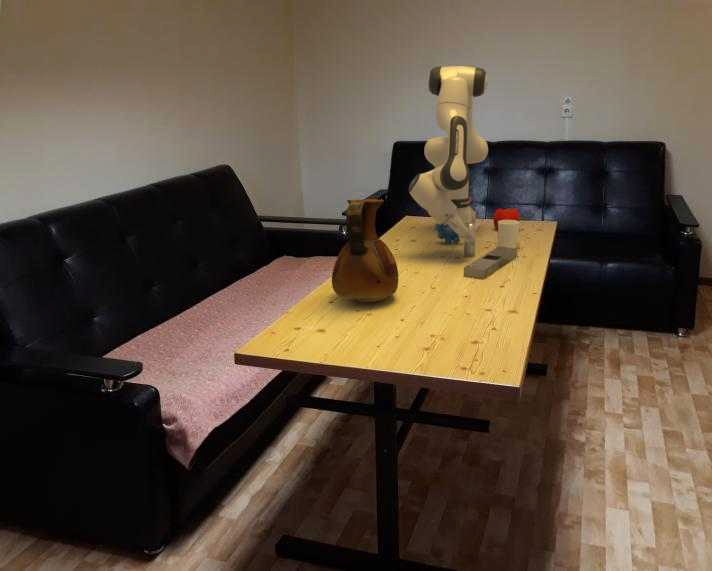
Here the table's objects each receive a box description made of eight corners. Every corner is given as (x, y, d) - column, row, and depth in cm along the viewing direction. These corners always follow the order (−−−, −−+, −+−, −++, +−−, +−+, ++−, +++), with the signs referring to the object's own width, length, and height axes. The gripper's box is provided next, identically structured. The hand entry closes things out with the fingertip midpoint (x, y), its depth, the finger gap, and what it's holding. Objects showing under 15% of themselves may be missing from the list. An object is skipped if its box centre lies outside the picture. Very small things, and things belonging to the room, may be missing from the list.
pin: (466, 254, 252) (467, 222, 249) (476, 255, 250) (477, 223, 247) (461, 256, 249) (462, 224, 245) (472, 257, 247) (473, 225, 243)
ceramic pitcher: (404, 290, 212) (404, 193, 203) (390, 311, 193) (389, 206, 184) (343, 286, 217) (341, 192, 208) (324, 306, 198) (320, 204, 190)
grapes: (433, 245, 265) (433, 215, 262) (434, 241, 271) (435, 211, 268) (463, 246, 263) (464, 215, 259) (464, 242, 269) (465, 212, 266)
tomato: (495, 233, 284) (496, 211, 281) (491, 227, 295) (492, 206, 292) (521, 233, 283) (523, 211, 280) (516, 226, 295) (517, 206, 292)
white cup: (516, 245, 263) (518, 219, 260) (519, 250, 256) (520, 224, 253) (496, 245, 264) (497, 219, 261) (498, 250, 257) (499, 224, 254)
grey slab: (498, 254, 251) (498, 246, 250) (516, 256, 247) (517, 248, 246) (463, 276, 225) (463, 267, 224) (483, 279, 221) (484, 270, 221)
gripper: (454, 211, 234) (482, 239, 237) (447, 201, 254) (473, 226, 256) (441, 224, 236) (469, 251, 238) (435, 213, 255) (461, 238, 258)
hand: (471, 238), depth 248 cm, fingers open, 8 cm apart
